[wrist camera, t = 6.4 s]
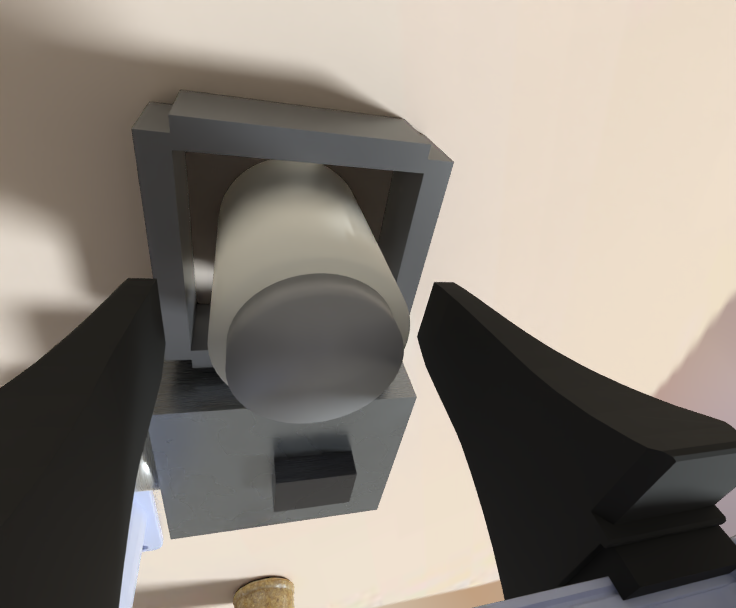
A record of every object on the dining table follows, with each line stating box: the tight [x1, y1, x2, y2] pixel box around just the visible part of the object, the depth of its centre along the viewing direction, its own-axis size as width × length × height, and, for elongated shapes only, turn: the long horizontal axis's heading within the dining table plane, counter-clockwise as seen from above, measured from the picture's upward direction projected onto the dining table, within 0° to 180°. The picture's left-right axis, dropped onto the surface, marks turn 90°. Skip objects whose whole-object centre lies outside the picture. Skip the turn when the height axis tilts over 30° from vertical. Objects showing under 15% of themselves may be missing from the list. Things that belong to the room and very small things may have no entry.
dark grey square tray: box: [132, 90, 454, 368], centre depth 14 cm, size 8×9×2 cm
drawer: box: [134, 356, 417, 539], centre depth 18 cm, size 11×8×5 cm
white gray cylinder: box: [208, 159, 410, 424], centre depth 12 cm, size 5×5×7 cm
